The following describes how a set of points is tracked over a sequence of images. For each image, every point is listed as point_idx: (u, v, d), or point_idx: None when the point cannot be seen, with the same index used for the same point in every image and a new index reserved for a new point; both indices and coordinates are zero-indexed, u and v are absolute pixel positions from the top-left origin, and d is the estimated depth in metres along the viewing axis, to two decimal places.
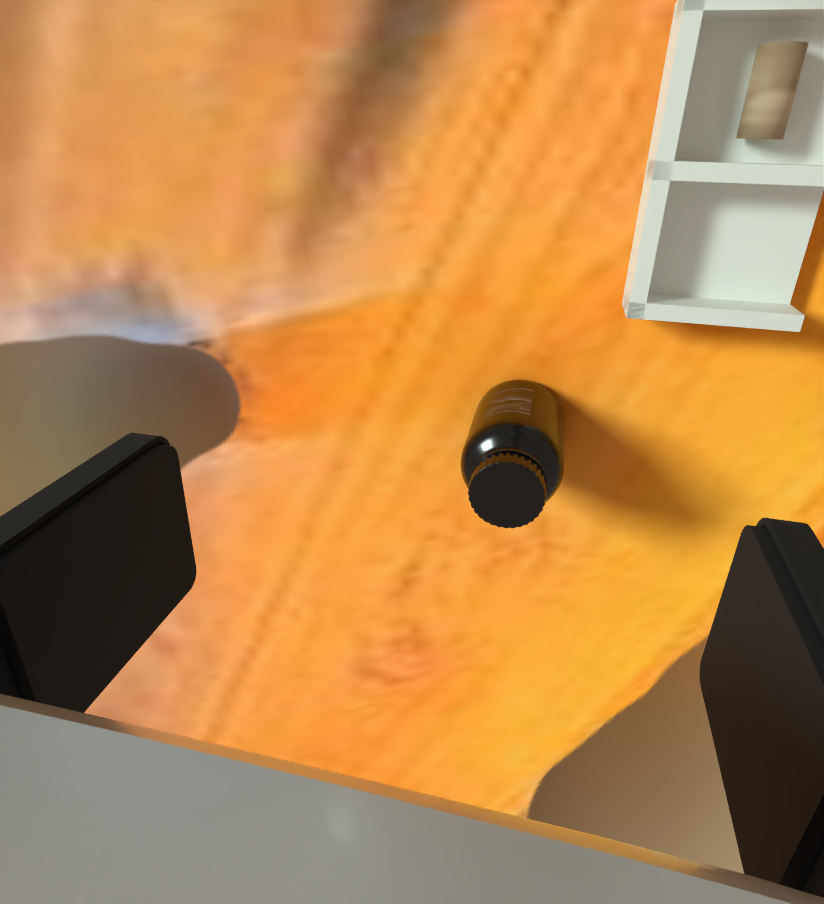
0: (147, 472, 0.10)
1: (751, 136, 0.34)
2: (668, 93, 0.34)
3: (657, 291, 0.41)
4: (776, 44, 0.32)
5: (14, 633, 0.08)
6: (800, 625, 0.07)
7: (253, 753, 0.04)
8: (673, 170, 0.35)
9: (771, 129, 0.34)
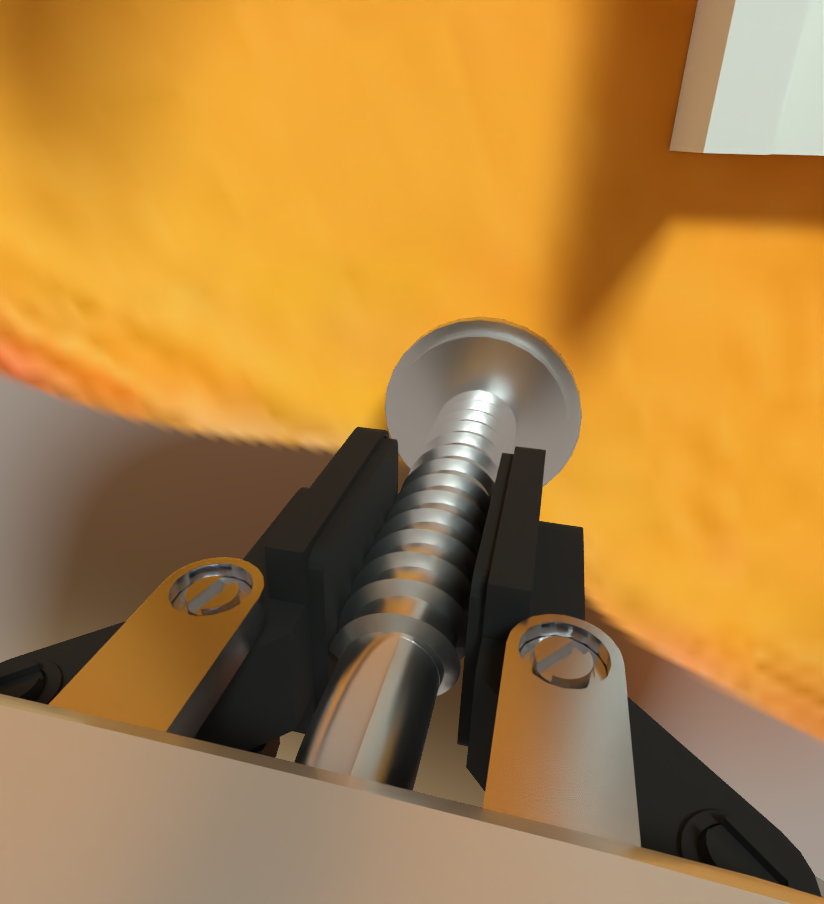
0: (385, 464, 0.10)
1: None
2: None
3: None
4: None
5: (323, 614, 0.08)
6: (490, 515, 0.09)
7: (253, 753, 0.04)
8: None
9: None
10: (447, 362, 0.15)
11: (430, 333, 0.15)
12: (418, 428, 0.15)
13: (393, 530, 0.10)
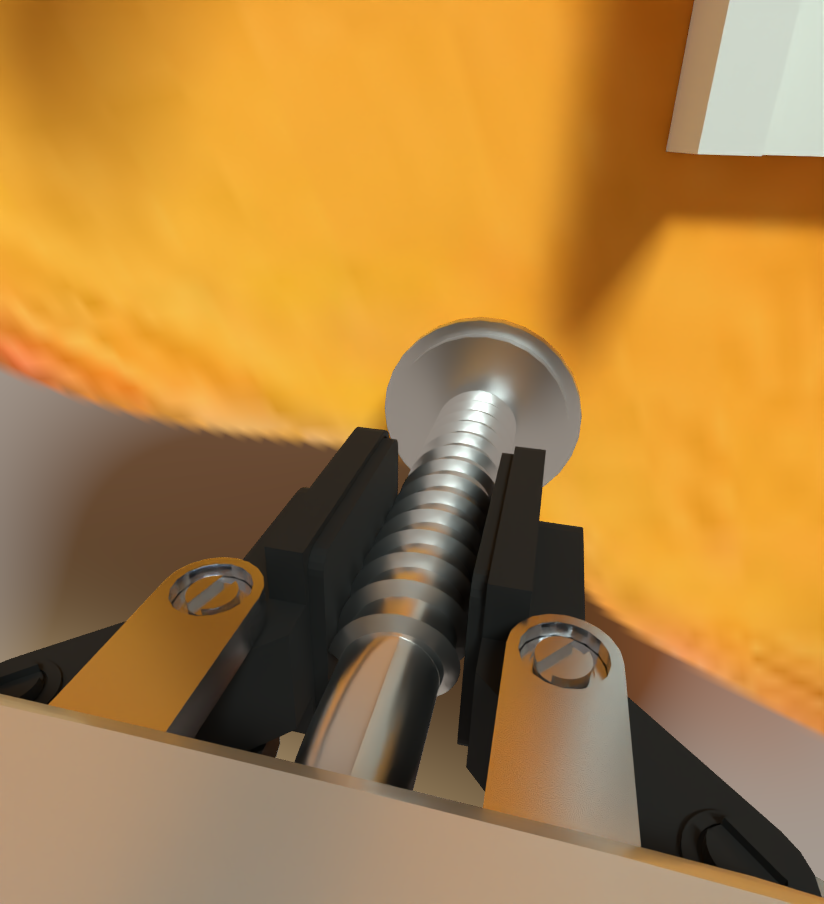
0: (385, 464, 0.10)
1: None
2: None
3: None
4: None
5: (323, 614, 0.08)
6: (490, 515, 0.09)
7: (253, 753, 0.04)
8: None
9: None
10: (447, 362, 0.15)
11: (430, 333, 0.15)
12: (418, 428, 0.15)
13: (393, 531, 0.10)
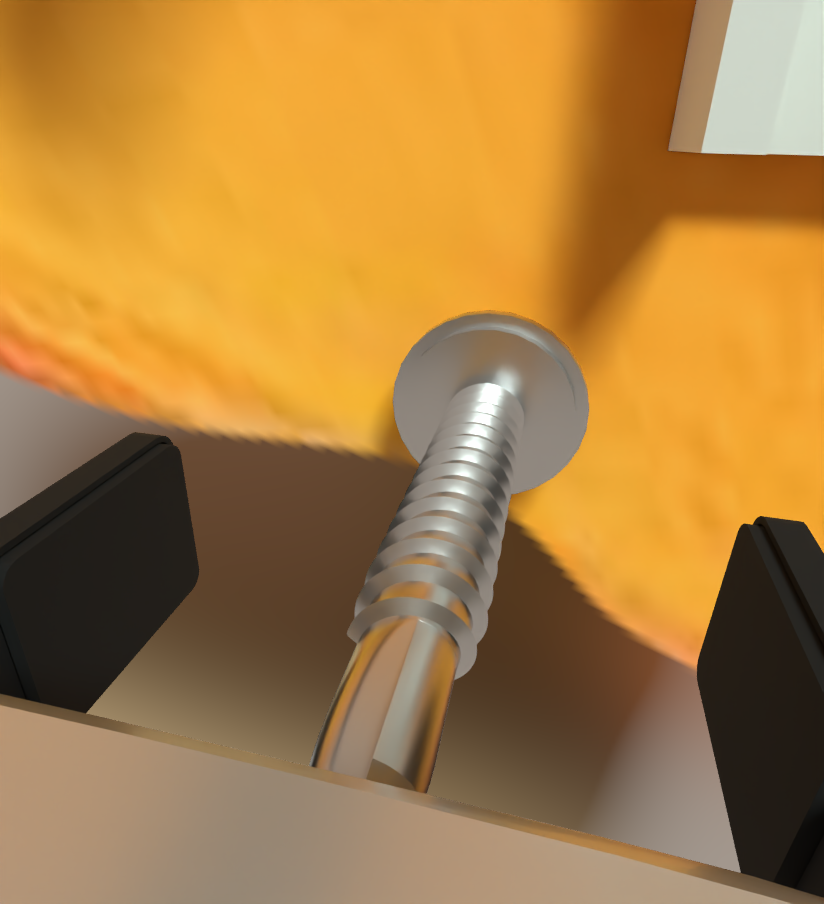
0: (150, 471, 0.10)
1: None
2: None
3: None
4: None
5: (18, 632, 0.08)
6: (795, 623, 0.07)
7: (253, 753, 0.04)
8: None
9: None
10: (455, 355, 0.15)
11: (438, 326, 0.15)
12: (426, 421, 0.16)
13: (407, 518, 0.10)
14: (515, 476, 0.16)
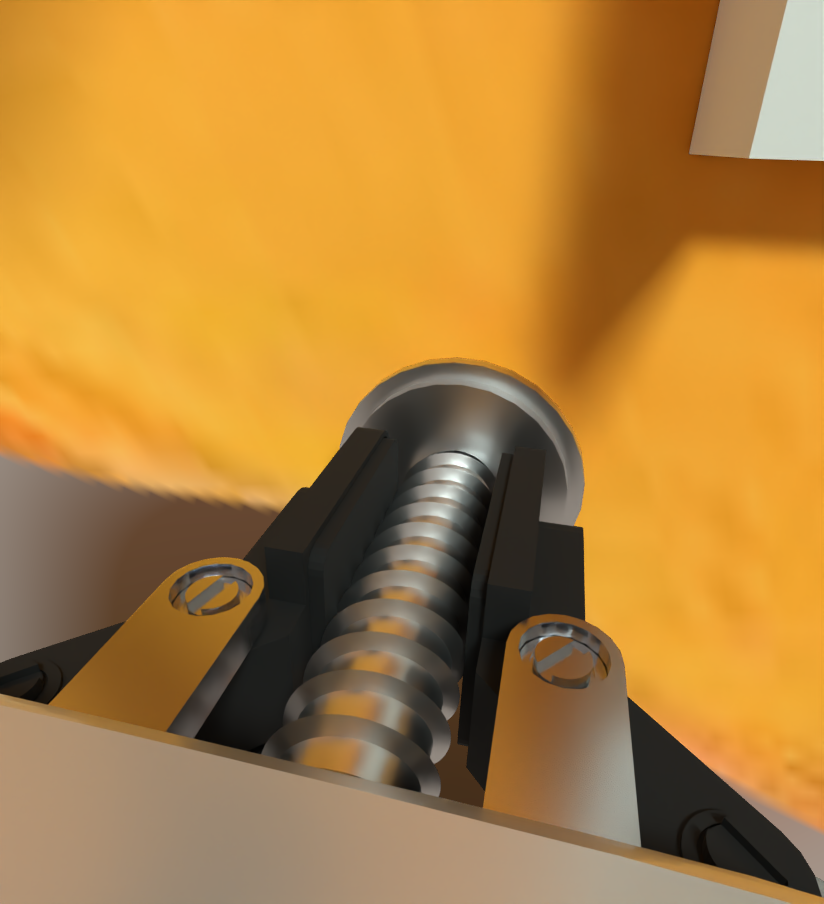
0: (385, 464, 0.10)
1: None
2: None
3: None
4: None
5: (323, 614, 0.08)
6: (490, 515, 0.09)
7: (253, 753, 0.04)
8: None
9: None
10: (413, 415, 0.11)
11: (392, 378, 0.12)
12: None
13: (309, 700, 0.07)
14: None
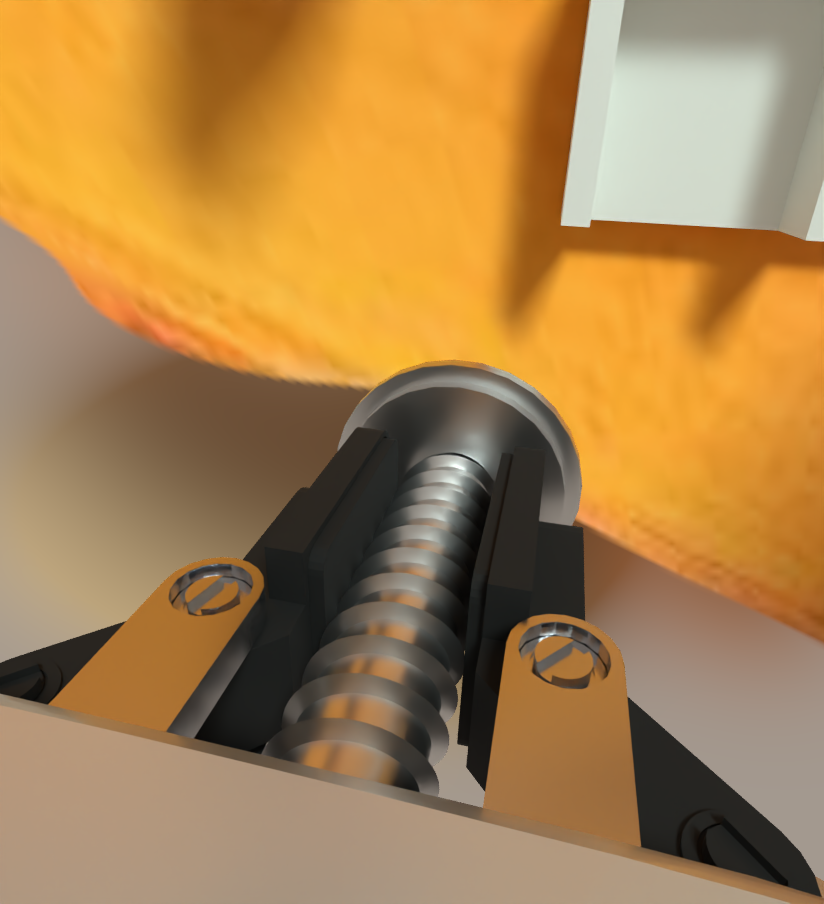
0: (385, 464, 0.10)
1: None
2: None
3: None
4: None
5: (323, 614, 0.08)
6: (490, 516, 0.09)
7: (253, 753, 0.04)
8: None
9: None
10: (410, 417, 0.11)
11: (389, 380, 0.12)
12: None
13: (307, 703, 0.07)
14: None
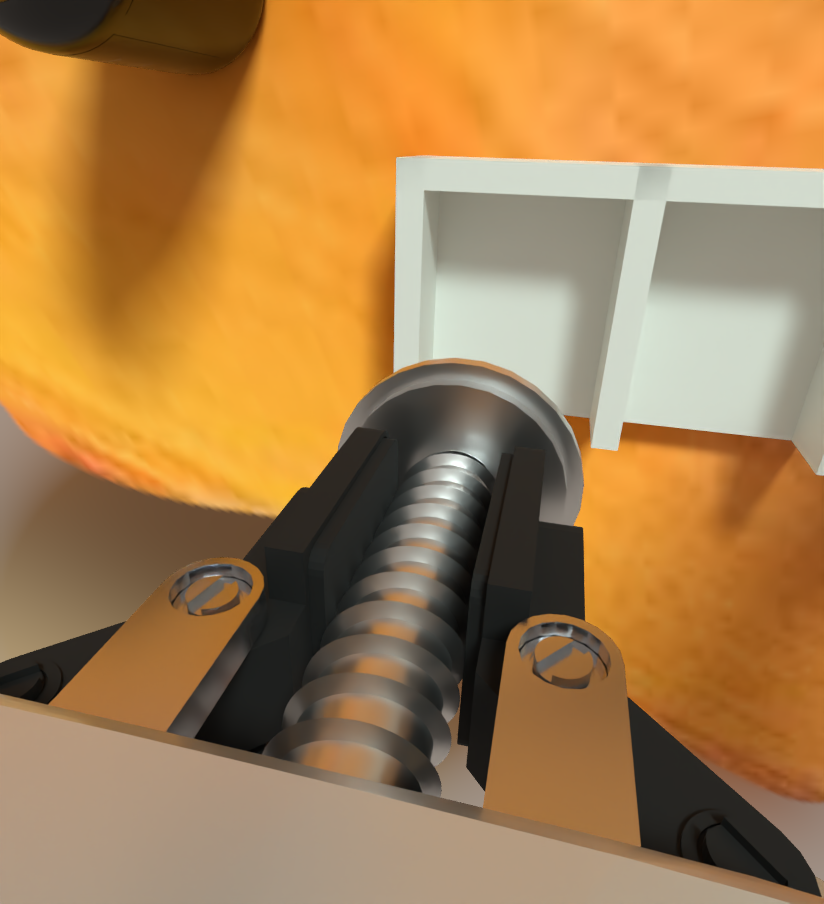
0: (385, 464, 0.10)
1: None
2: (786, 172, 0.19)
3: (443, 211, 0.25)
4: None
5: (323, 614, 0.08)
6: (490, 515, 0.09)
7: (253, 753, 0.04)
8: (650, 203, 0.20)
9: None
10: (411, 416, 0.11)
11: (390, 378, 0.12)
12: None
13: (308, 703, 0.07)
14: None
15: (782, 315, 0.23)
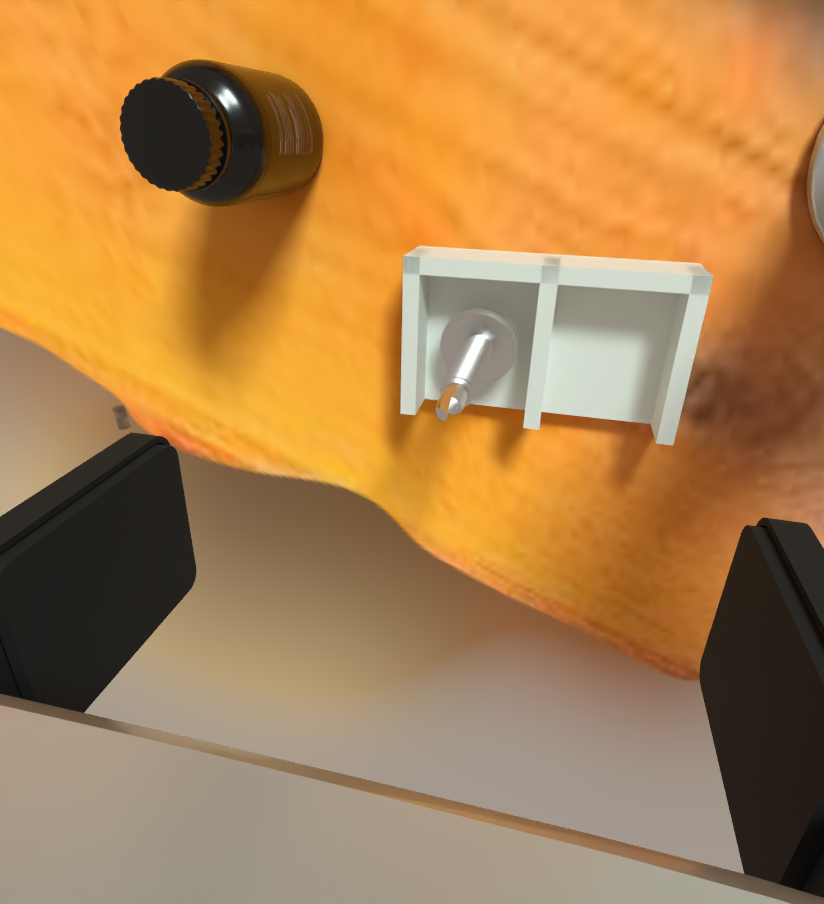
0: (147, 472, 0.10)
1: (114, 409, 1.26)
2: (621, 271, 0.34)
3: (432, 281, 0.40)
4: (120, 429, 1.28)
5: (14, 633, 0.08)
6: (800, 625, 0.07)
7: (253, 753, 0.04)
8: (549, 285, 0.35)
9: (113, 410, 1.27)
10: (465, 324, 0.38)
11: (459, 313, 0.38)
12: (454, 351, 0.39)
13: None
14: (490, 374, 0.39)
15: (638, 346, 0.38)
